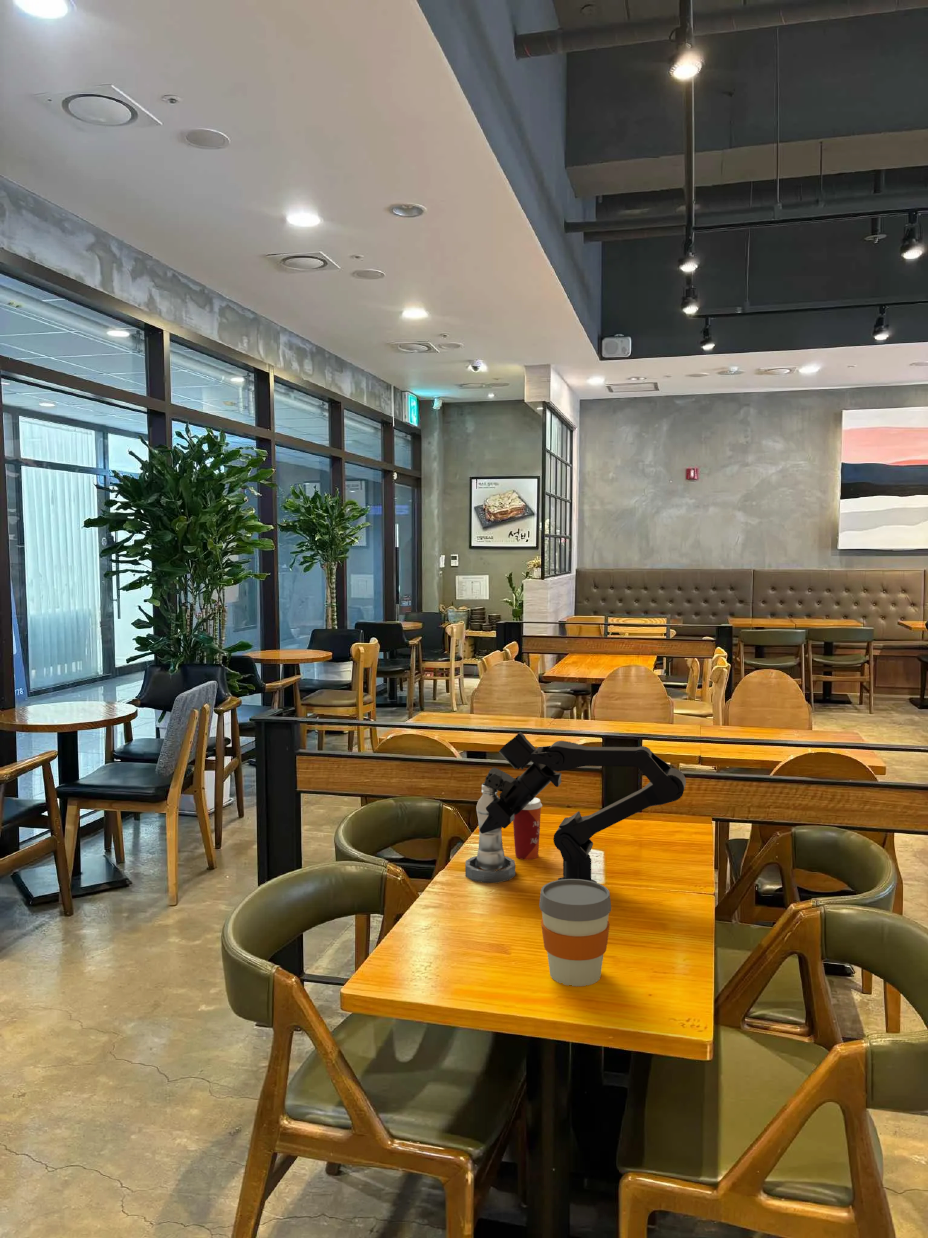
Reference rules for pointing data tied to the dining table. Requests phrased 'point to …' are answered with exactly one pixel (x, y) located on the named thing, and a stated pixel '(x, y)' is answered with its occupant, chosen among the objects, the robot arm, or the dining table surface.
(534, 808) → the paper cup
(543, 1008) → the dining table surface
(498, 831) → the plastic bottle
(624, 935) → the dining table surface
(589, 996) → the dining table surface
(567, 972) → the reusable coffee cup
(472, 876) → the collar
